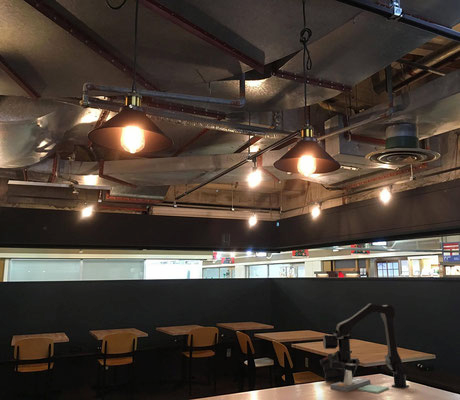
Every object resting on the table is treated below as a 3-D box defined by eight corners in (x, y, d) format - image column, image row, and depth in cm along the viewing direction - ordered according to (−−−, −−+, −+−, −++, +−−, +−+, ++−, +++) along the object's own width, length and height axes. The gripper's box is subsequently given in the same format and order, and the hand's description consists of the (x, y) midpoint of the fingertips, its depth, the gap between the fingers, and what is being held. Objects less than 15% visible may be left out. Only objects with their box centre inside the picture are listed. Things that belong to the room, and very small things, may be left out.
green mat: (369, 386, 216) (369, 384, 216) (388, 389, 209) (388, 387, 209) (357, 390, 208) (357, 388, 208) (377, 393, 201) (377, 391, 201)
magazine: (352, 378, 227) (338, 352, 230) (331, 390, 226) (317, 363, 229) (350, 377, 231) (337, 351, 234) (329, 388, 230) (316, 362, 233)
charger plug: (345, 386, 217) (344, 369, 218) (352, 387, 214) (351, 370, 216) (341, 387, 214) (340, 370, 215) (348, 389, 211) (347, 371, 213)
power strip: (358, 380, 231) (358, 375, 231) (374, 382, 225) (373, 377, 225) (330, 389, 211) (330, 383, 212) (347, 391, 205) (346, 385, 206)
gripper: (339, 345, 230) (341, 376, 226) (320, 349, 217) (322, 382, 213) (358, 347, 222) (361, 379, 219) (340, 351, 209) (342, 385, 206)
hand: (346, 381), depth 214 cm, fingers open, 8 cm apart
